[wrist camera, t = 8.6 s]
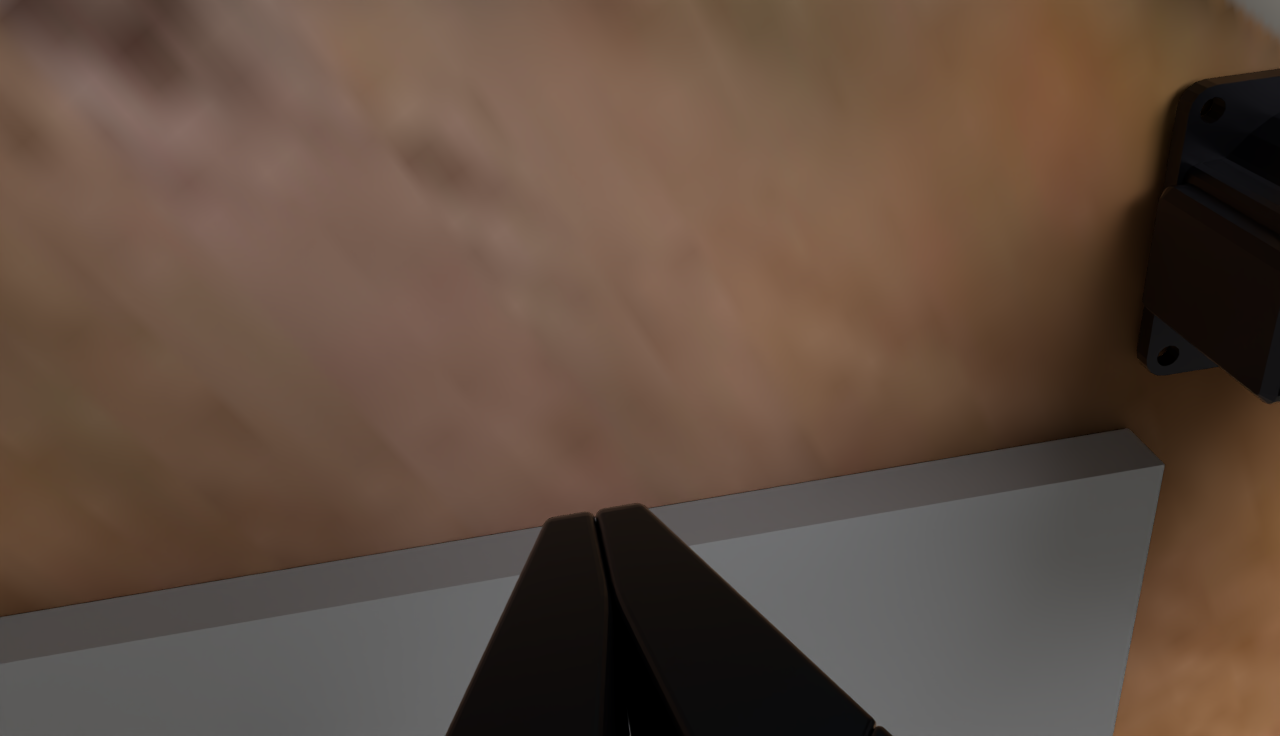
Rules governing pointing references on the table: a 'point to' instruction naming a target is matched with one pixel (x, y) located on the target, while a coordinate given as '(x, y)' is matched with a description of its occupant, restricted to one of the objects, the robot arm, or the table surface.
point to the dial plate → (718, 533)
